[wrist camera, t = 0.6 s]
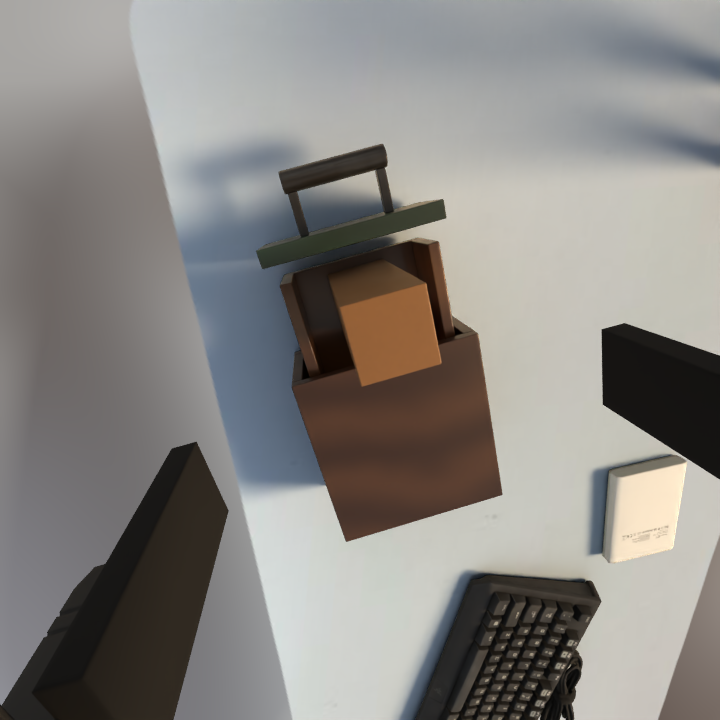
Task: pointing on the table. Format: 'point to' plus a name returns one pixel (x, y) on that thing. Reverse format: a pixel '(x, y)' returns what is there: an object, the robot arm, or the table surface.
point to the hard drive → (642, 508)
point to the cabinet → (402, 438)
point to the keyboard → (512, 651)
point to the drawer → (351, 257)
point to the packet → (385, 320)
